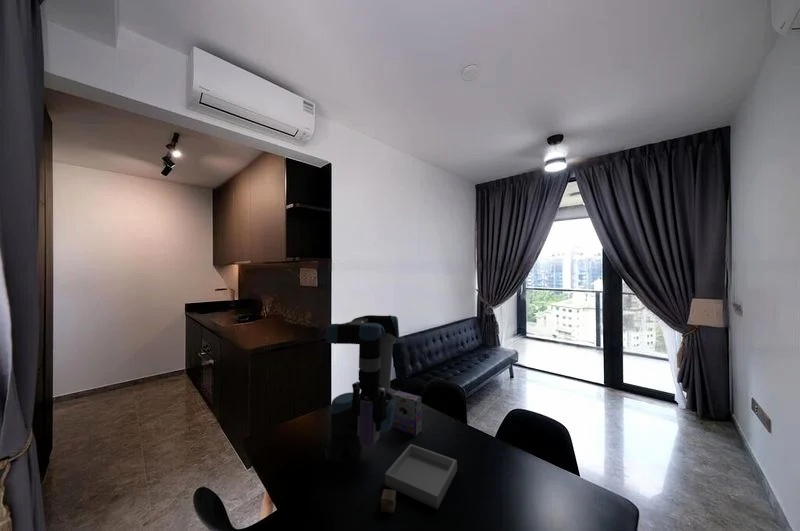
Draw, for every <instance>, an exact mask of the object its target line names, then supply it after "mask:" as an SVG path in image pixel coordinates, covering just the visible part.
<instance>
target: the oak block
mask: <svg viewBox="0 0 800 531" xmlns="http://www.w3.org/2000/svg"><path fill="white" fill-rule="evenodd" d="M380 502H381V503H380V504H381V505H380V507H381V508H380V512H384V513H390V514H394V512H395V507H396V504H397V491H396V490H394V489H386V488H383V491H382V495H381V498H380Z"/></svg>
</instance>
